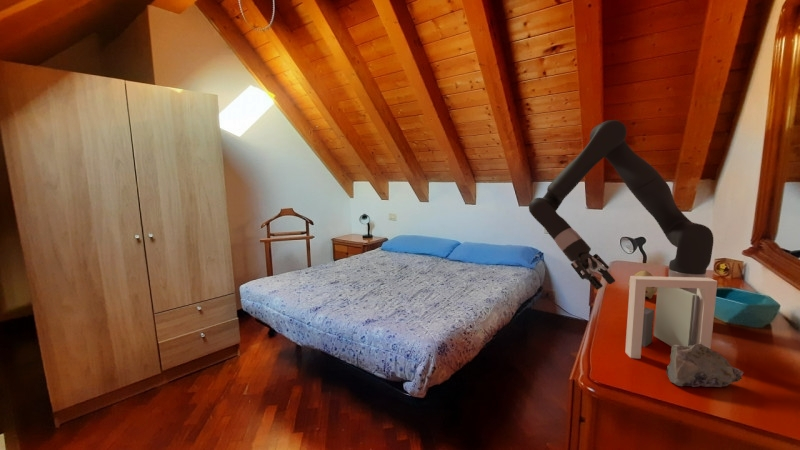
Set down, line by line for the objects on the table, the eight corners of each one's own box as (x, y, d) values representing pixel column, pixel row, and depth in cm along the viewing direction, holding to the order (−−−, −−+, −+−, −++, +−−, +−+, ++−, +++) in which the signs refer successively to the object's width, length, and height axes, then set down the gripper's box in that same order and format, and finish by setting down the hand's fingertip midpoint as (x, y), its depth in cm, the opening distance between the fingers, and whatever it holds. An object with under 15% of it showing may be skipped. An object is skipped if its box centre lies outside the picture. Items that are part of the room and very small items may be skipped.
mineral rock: (741, 386, 76) (745, 345, 75) (742, 409, 69) (747, 364, 67) (669, 365, 85) (672, 328, 84) (663, 384, 78) (666, 344, 76)
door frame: (700, 356, 89) (708, 277, 86) (709, 362, 86) (717, 281, 83) (625, 352, 92) (630, 275, 89) (630, 357, 89) (636, 279, 86)
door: (700, 357, 87) (706, 296, 85) (690, 358, 87) (696, 296, 85) (662, 335, 100) (666, 281, 98) (653, 335, 100) (657, 281, 98)
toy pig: (626, 299, 131) (628, 273, 130) (628, 290, 141) (629, 266, 140) (657, 304, 126) (660, 277, 124) (657, 294, 135) (659, 269, 134)
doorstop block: (627, 341, 98) (629, 309, 97) (634, 336, 101) (636, 305, 99) (644, 347, 94) (647, 314, 93) (651, 342, 97) (654, 309, 96)
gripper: (568, 240, 105) (605, 283, 97) (590, 235, 113) (626, 275, 105) (552, 254, 110) (586, 296, 102) (574, 248, 118) (607, 286, 110)
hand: (606, 285), depth 104 cm, fingers open, 8 cm apart
